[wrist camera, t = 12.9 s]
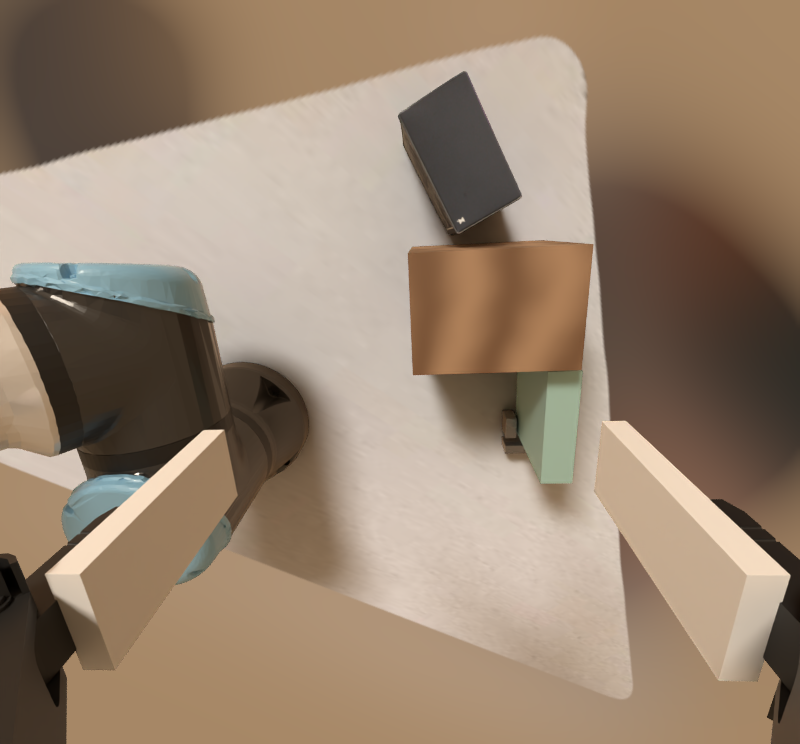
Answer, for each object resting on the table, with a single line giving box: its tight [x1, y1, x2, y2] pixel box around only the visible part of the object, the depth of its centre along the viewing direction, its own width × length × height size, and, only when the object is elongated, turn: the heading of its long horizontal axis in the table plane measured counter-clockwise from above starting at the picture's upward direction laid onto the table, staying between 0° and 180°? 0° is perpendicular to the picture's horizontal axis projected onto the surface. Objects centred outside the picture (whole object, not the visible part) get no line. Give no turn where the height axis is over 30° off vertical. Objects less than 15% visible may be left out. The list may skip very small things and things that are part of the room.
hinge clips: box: [502, 410, 526, 453], centre depth 49 cm, size 6×14×2 cm, turn 3°
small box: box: [398, 71, 522, 235], centre depth 38 cm, size 11×6×10 cm, turn 30°
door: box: [515, 370, 583, 484], centre depth 44 cm, size 3×12×12 cm, turn 3°
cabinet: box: [408, 240, 593, 375], centre depth 40 cm, size 14×10×14 cm
